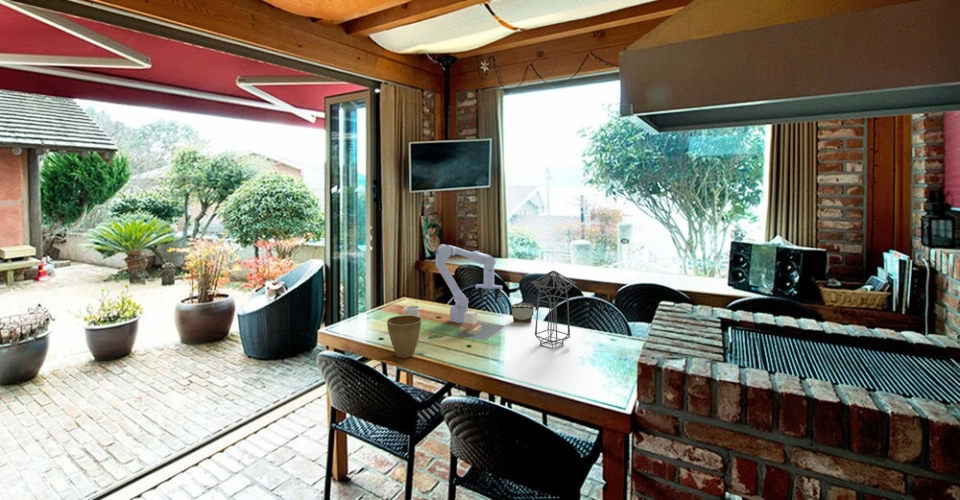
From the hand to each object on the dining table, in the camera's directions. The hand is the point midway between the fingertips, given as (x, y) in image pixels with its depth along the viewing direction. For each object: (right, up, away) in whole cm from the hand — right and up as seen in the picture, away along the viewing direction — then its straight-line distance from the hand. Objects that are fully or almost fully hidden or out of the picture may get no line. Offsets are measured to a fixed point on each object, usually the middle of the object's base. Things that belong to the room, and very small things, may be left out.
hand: (489, 301), depth 243 cm
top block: (-10, -8, -21) cm, 24 cm away
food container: (+18, -11, -3) cm, 21 cm away
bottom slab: (-10, -13, -20) cm, 26 cm away
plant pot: (-38, -18, -48) cm, 64 cm away
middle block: (-10, -10, -21) cm, 25 cm away
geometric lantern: (+28, -16, -39) cm, 50 cm away
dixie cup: (-41, -12, -7) cm, 43 cm away
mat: (-5, -13, -18) cm, 23 cm away
